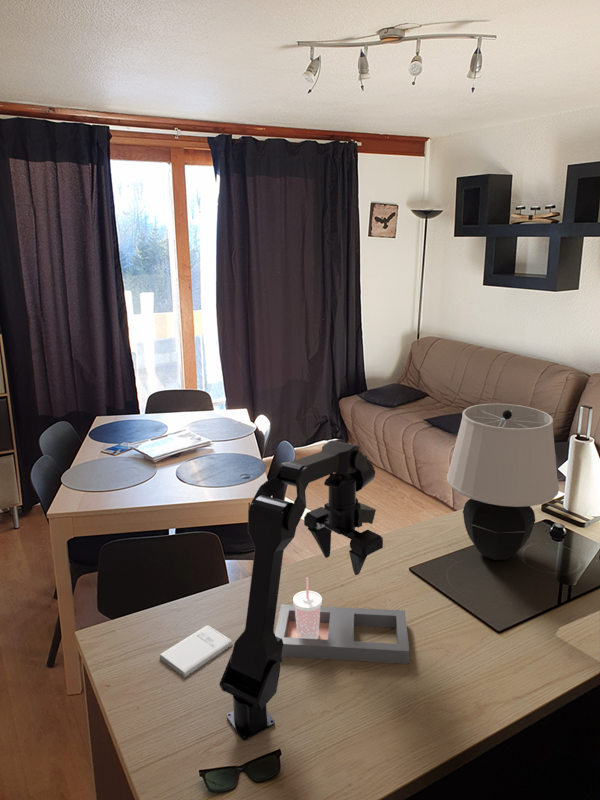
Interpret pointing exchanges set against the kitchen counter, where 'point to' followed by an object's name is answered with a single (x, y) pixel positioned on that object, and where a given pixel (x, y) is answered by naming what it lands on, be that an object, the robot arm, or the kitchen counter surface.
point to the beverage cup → (307, 613)
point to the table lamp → (503, 474)
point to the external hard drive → (195, 650)
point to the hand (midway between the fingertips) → (341, 565)
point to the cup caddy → (345, 635)
